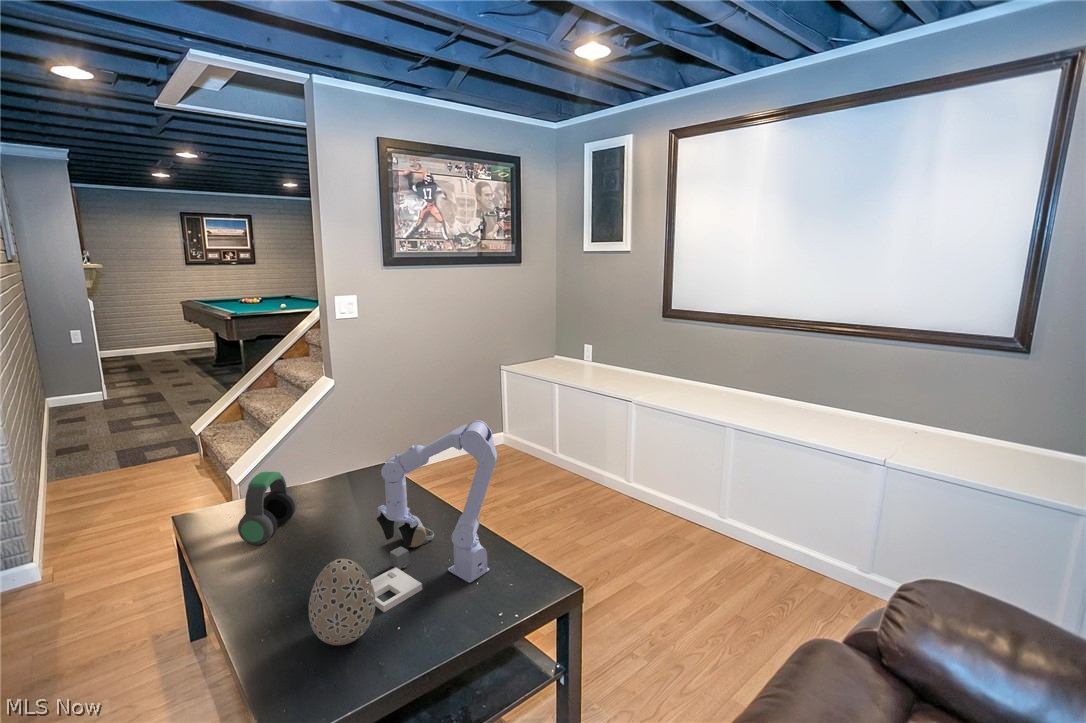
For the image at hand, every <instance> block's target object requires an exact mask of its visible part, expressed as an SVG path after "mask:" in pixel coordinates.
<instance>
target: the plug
mask: <svg viewBox="0 0 1086 723" xmlns="http://www.w3.org/2000/svg"><path fill="white" fill-rule="evenodd" d="M389 559H390V560H389V561H390V566H392V567H393V568H395V567H396V568H398V569H400V570H401V569H405V568H406V567H407V566H408V565H410V551H409V550H408V548H404V546H399V547H396V548H394V549H392V550H390V551H389Z"/></svg>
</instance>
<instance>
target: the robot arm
mask: <svg viewBox="0 0 1086 723" xmlns="http://www.w3.org/2000/svg"><path fill="white" fill-rule="evenodd" d="M493 437H494V436H493V431H492V430H491V428H490V427H489V426H488V424H487V423H486V422H485V421H482V420H479V419H476V420H473V421H471V422H469V424H468V423H465V424H463V425H461V426H459V427H457V428H455V429H454V430H451V431H450V432H448V433H446V434H444V435H443V436H441V437H440V438H437V439H436V440H434V441H432V442H431V443H428V444H427V445H422V444H421V445H420V444H418V445H414V444H413V445H410V446H409V447H408V450H406V451H404V452H402V453H397V454H395V455H394V456H391V457H390V458H389V459H388V460H387V461H386V462H385V464H383V466H382V467H381V470H380V474H381V477H382V479H383V480H384V492H385V505H384V504H382V505H380V506H378V507H377V514H378V515H379V516H378V517H376V520H377V523H379V525H380V527H381V530H382V531H383V534H384V537H385V539H386V540H387V541H388V540H390V539H392V538H394V534H395V533H394V532H395V522H398V523H399V522H404V525H402V526H401V527H399V530H400V532H401V535H402V538H403V540H402V545H403V548H405V549H408V548H410V547H409V546H411V543H412V539H413V535H414V532H415V530H416V528H417V526H418V522H417V518H415V517H414V516H415V515H414V514H412V513H411V512H410V511H411V510H410V509H411V508H410V507H408V497H407V480H406V474H410V473H411V472H413V471H415V470H417V469H419V468H421V467H423V466H425V465H426V464H429V460H430V458H431V457H433V456H436V455H437V454H440V453H442V452H444V451H447V450H448V449H451V448H455V450H458V451H461V450H462V449H463V450H464V452H466V453H468V454H469V455H470V456H471V457H473V458H474V459H475V461H476V462H477V466H476V470H475V473H474V475H473V479H472V482H471V486H470V488H469V492H468V496H467V498H466V502H465V505H464V507H463V510H462V513H461V515H460V516H459V518H458V521H457V522H456V525H455V528H454V529H453V531H452V533H451V537H450V538H451V542H452V544H453V565H452V566H450V567H447V571H448V572H450V573H452V574H453V575H455V576H457V577H458V578H460V579H462V580H463V581H465V582H467V583H469V584H470V583H472V582H474V581H475V580H476V579H477V580H478V578H480V577H481V576H483V575H485V574H486V573H488V572H489V571H490V568H489V567H488V551H487V550H486V548H484V547H483V545H481V543H480V540H479V535H478V533H477V531H478V529H479V527H480V519H479V518H480V513H481V510H482V506H483V504H484V500H485V497H486V494H487V491H488V487H489V484H490V481H491V478H492V475H493V472H494V469H495V466H496V463H497V459H498V452H497V449H496V446H495V445H496V444H495V442H494V439H493ZM413 515H414V516H413ZM402 538H401V539H402Z"/></svg>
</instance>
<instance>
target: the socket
mask: <svg viewBox="0 0 1086 723" xmlns="http://www.w3.org/2000/svg"><path fill="white" fill-rule="evenodd" d="M370 581H371V583H372V586H373V589H374V592H375V602H374V601H373V604H374V603H375V608H377V609H378V610H380V611H382V613H386V612H387V611H390V609H392V608H394V607H396V606H397V605H399V604H400V603H402V602H405V600H407V599H409V598H410V597H411V598H412V597H413V596H414V595H415V594H417V593H420V592H421V591H422V590H423V583H422V582H420V581H419V580H417V579H415V578H413V577H412V576H410V574H407V573H405V572H404V571H403V570H401V569H398V568H396V567H393V568H391V569H389V570H387V571H386V572H383V573H382V574H379V575H377V576H376V577H374V578H372V579H370ZM367 584H369V583H368V581H367ZM389 591H390V592H392V593H393V594H395V595H394V596H392V597H391V598H389V599H387V600H385V601H382V600H381V599H379V598H378V597H379V596H382V595H383V594H385V593H386V592H389ZM367 593H369V592H368V590H367ZM371 596H372V594H371Z"/></svg>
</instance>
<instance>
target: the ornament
mask: <svg viewBox="0 0 1086 723" xmlns="http://www.w3.org/2000/svg"><path fill="white" fill-rule="evenodd" d="M370 580H371V579H370V577H369V575H368V574H367V572H366V571H365V569H364V568H363V567H362V566H360V564H359V563H357V562H356V561H355V560H354V561H353V560H351V559H348V558H337V559H334V560H332V561H331V562H329V563H328V564H327V565H325V567H324V568H323V569H322V570H321V571H320V572H319V574H318V575H317V577H316V579H315V581H314V584H313V586H312V589H311V591H310V594H309V595H310V596H309V601H308V620H309V623H310V626H311V628H312V629H311V630H312V631H313V632H314V634H315V635H316V636H317V638H318V639H319V640H320V641H322V642H324V643H326V644H328V645H331V646H344V645H348V644H351V643H353V642H355V641H356V640H358V639H360V637H361V636H363V635H364V634H365V633H366V632H367V630H369V627H370V626H371V623H372V622H373V618H374V616H375V612H376V606H375V603H374V604H373V601H374V602H375V592H374V589H373V586H372V583H371V581H370ZM367 582H368V583H369V584H367ZM347 588H348V589H347ZM367 590H368V592H369V593H367ZM371 594H372V596H371Z"/></svg>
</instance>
